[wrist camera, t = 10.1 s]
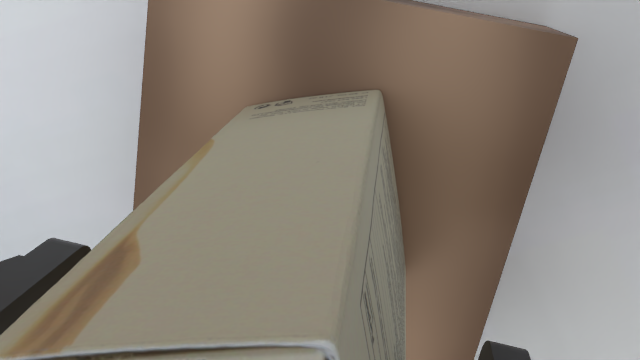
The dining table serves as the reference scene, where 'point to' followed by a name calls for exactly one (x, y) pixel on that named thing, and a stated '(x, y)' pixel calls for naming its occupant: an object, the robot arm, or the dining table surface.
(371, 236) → the skincare box
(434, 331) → the walnut plinth
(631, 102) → the dining table surface
